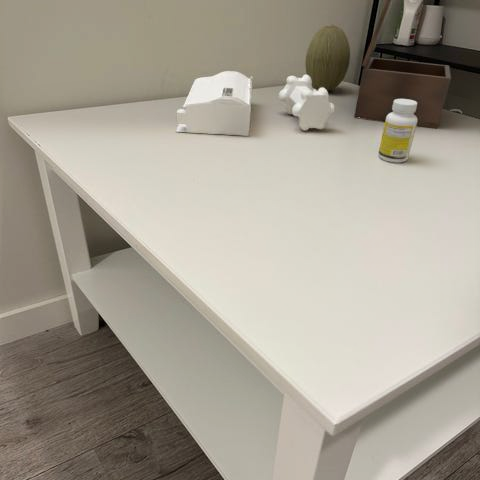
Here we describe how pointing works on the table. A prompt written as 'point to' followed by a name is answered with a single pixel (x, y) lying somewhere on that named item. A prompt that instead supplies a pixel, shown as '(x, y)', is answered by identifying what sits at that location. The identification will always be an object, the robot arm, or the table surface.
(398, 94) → the chest
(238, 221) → the table surface
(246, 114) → the barrel roof building
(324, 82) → the fruit
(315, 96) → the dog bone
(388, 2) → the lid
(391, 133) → the supplement bottle
